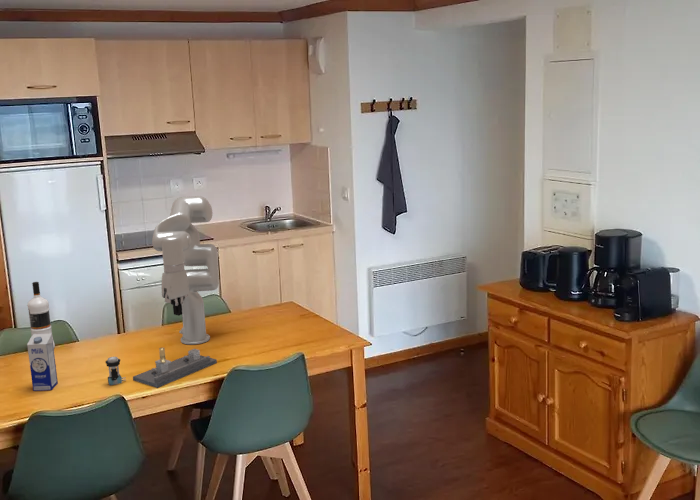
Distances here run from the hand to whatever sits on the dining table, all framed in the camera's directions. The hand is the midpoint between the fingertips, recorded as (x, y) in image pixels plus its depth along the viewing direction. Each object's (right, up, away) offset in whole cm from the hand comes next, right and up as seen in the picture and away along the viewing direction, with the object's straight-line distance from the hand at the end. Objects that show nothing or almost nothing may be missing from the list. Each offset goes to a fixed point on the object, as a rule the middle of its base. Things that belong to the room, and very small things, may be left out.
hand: (178, 314), depth 287 cm
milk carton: (-48, -27, -7) cm, 55 cm away
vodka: (-66, -18, +36) cm, 77 cm away
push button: (-22, -26, -5) cm, 34 cm away
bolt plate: (-2, -23, +5) cm, 23 cm away
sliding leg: (-6, -22, -2) cm, 23 cm away
